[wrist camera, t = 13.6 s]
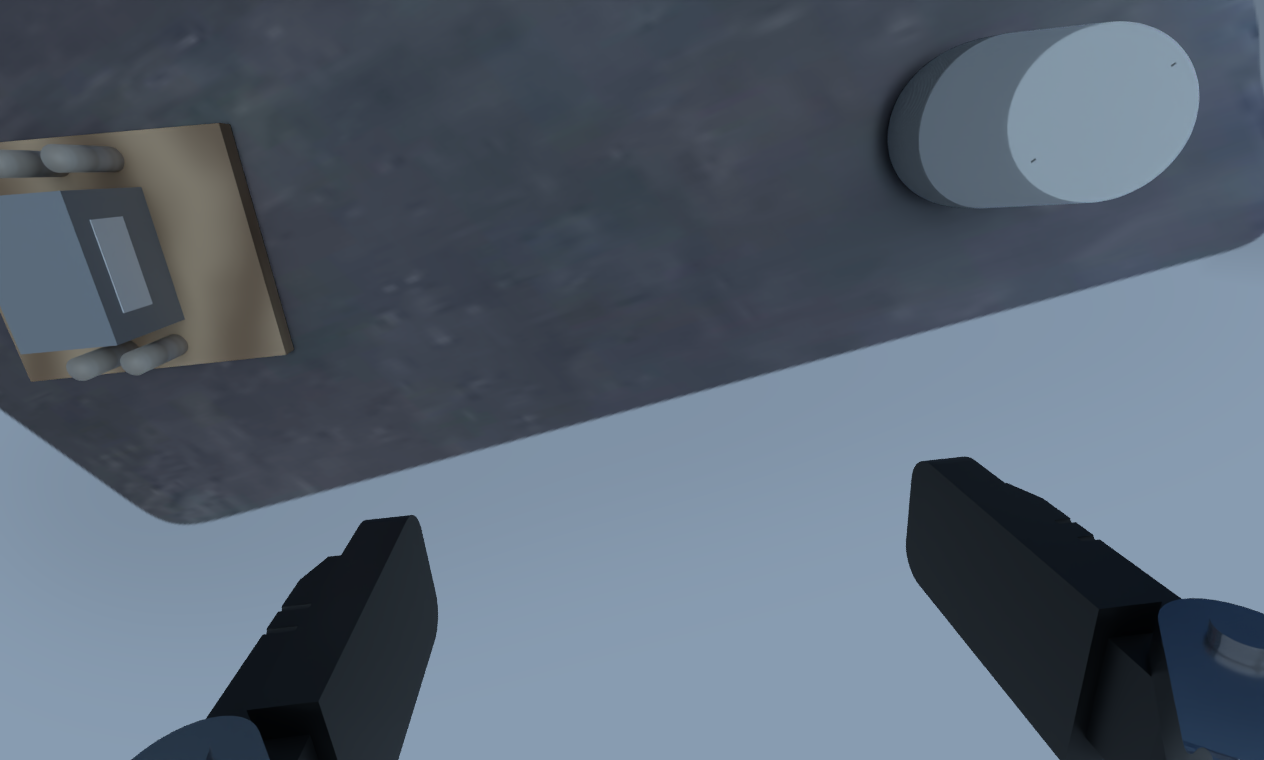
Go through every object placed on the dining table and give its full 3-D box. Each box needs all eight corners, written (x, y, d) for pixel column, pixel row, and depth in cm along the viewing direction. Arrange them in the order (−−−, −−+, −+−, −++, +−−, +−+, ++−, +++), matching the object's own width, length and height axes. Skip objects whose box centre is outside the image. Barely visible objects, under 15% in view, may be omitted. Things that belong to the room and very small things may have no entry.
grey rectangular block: (102, 326, 38) (19, 354, 33) (52, 194, 36) (-47, 199, 30) (185, 319, 39) (118, 345, 33) (142, 186, 36) (60, 190, 30)
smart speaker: (978, 15, 38) (1192, -65, 25) (1034, 146, 41) (1252, 137, 27) (846, 112, 39) (983, 84, 26) (910, 232, 42) (1061, 262, 29)
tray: (46, 375, 40) (-28, 404, 35) (-52, 149, 36) (-152, 146, 31) (294, 349, 41) (255, 374, 36) (229, 124, 36) (175, 117, 32)
